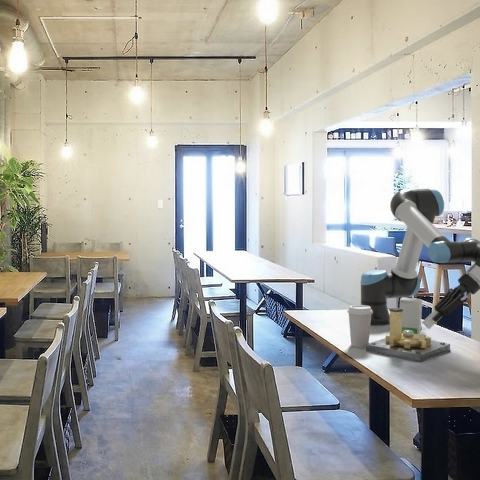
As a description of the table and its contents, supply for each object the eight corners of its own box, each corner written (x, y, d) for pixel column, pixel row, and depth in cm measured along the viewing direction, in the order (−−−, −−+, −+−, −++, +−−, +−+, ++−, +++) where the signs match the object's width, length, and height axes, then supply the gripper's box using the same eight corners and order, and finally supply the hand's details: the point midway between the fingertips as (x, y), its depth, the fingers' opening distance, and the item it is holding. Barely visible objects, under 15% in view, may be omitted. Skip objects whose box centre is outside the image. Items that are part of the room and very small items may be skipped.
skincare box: (398, 337, 236) (398, 299, 235) (400, 334, 242) (401, 296, 241) (419, 339, 232) (419, 300, 231) (421, 335, 238) (422, 298, 237)
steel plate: (397, 340, 230) (397, 322, 230) (450, 350, 215) (450, 330, 214) (365, 350, 215) (365, 331, 214) (420, 362, 199) (420, 341, 199)
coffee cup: (373, 343, 226) (374, 305, 225) (371, 349, 217) (371, 309, 216) (349, 341, 229) (349, 304, 228) (345, 347, 220) (345, 308, 219)
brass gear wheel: (408, 336, 225) (409, 302, 224) (440, 345, 211) (440, 309, 210) (376, 341, 218) (377, 306, 217) (406, 350, 204) (407, 313, 203)
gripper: (488, 290, 201) (439, 337, 203) (472, 284, 215) (426, 328, 217) (473, 275, 201) (424, 322, 202) (458, 270, 215) (412, 314, 217)
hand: (425, 325), depth 210 cm, fingers closed
